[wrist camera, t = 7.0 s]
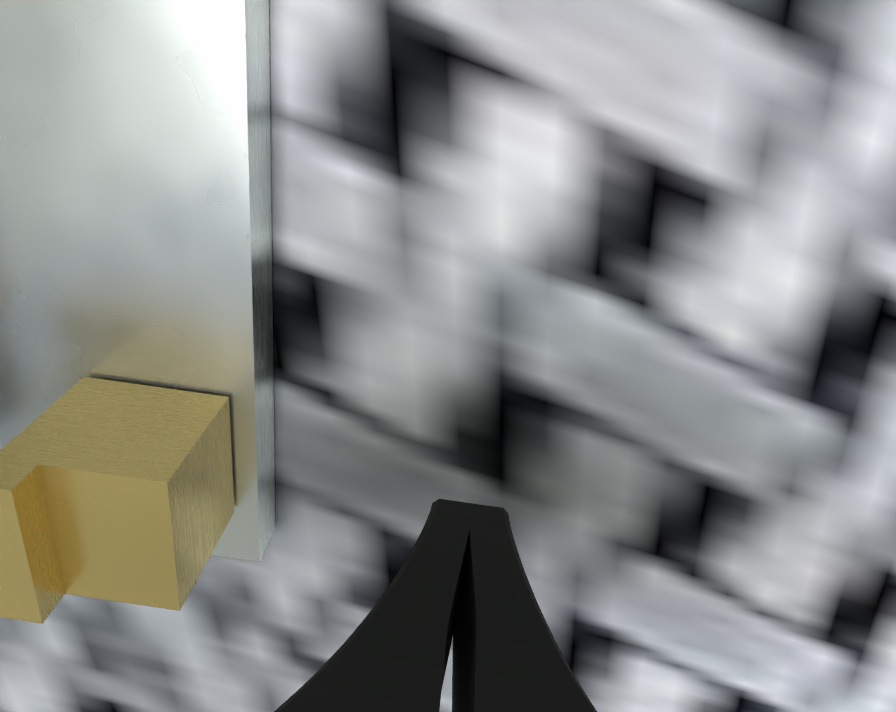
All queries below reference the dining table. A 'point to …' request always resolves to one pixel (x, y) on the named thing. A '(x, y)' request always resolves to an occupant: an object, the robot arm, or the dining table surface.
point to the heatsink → (141, 216)
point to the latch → (113, 497)
